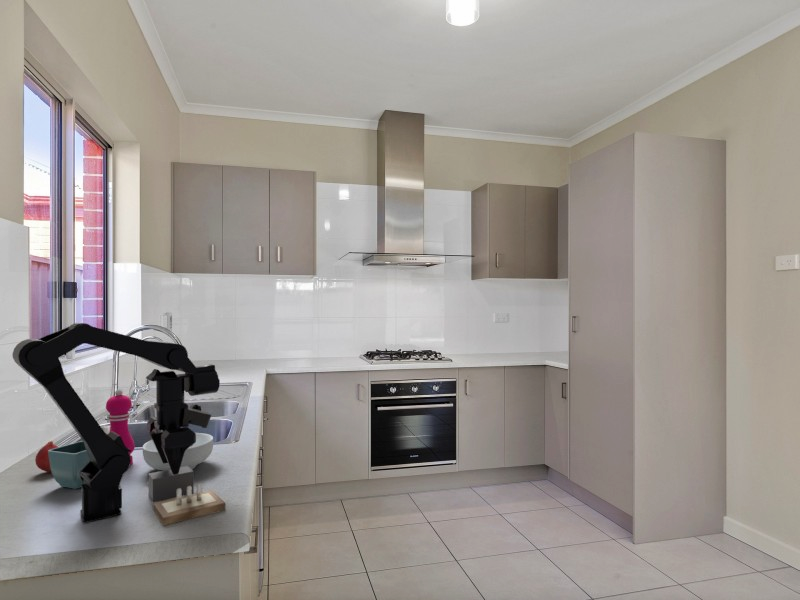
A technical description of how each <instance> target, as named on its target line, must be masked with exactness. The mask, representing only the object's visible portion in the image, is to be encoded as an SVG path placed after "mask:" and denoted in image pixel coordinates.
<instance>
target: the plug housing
mask: <svg viewBox="0 0 800 600" xmlns="http://www.w3.org/2000/svg"><path fill="white" fill-rule="evenodd" d="M188 486H191V487H192V494H195V493H194V489H195V488H194V470H193V469H191V468H190V467H189V466H186V467H180V470H179V473H178V474H175V475H173V473H172V471H171V469H170V470H165V471H163V470H159V471H155V472H151V473H148V497H149V499H150V500H151V502H152V503H155V502H159V501H164V500H168V499H173V498H176V490H177V489H178V488H181V490H182V496H186V495H187V487H188Z"/></svg>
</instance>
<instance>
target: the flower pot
mask: <svg viewBox="0 0 800 600" xmlns="http://www.w3.org/2000/svg"><path fill="white" fill-rule="evenodd" d="M48 455H49V461H50V467H51V472H50V473H51V475H52V476H53V478H54V480H55V481H56V483H58V484H59V486H60V487H64V488H70V489H74V490H75V489H76V490H77V489H80V488H82V484H86V483H85V482H83V481H82V480H81V478H80V476H79V472H80V470H81V469H82V468H83V467H84V466H85V465H86V464H87V463H88V462H89V461H90V459H89V457H88V454H87V452H86V449H85V445H84V442H83V440H80V441H76V442H73V443H70V444H69V443H68V444H66V445H61V446H58V448H54V449H51V450H48Z"/></svg>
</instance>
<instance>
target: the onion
mask: <svg viewBox="0 0 800 600" xmlns="http://www.w3.org/2000/svg"><path fill="white" fill-rule="evenodd" d="M58 447H59V446H58V445H56V444H54V441H53V440H50V441H48V442H47V443H46V444H45V445H44V446H42V447H41V448H40V449H39V450H38V451H37V453H36V456H35V458H34V460H35V465H36V467H37V468H38V469H39V470H41V471H44V472H45V473H49V474H51V473H52V472H51V467H50V461H49V455H48V450H51V449H54V448H58Z"/></svg>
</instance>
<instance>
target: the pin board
mask: <svg viewBox="0 0 800 600" xmlns="http://www.w3.org/2000/svg"><path fill="white" fill-rule="evenodd" d="M152 504H153V505H152V510H153V512H154V514H155V515H156V517H157V518H158V519H159V521H160V523H161V524H162V526H167V525H171V524H175V523H178V522H182V521H186V520H190V519H194V518H200V517H202V516H207V515H211V514H215V513H218V512H222V511H226V502H225V501H224V500H223V499H222V498H221V497H220V496H219V495H218V494H217V493H216V492H215V491H214V490H213V489H207V490H205V491H202V500H201V501H197V492H195V493H193V494H192V502H191V503H187V495H184V496H182V505H180V506H177V505H176V497H175V498H171V499H166V500H162V501H158V502H152Z"/></svg>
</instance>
